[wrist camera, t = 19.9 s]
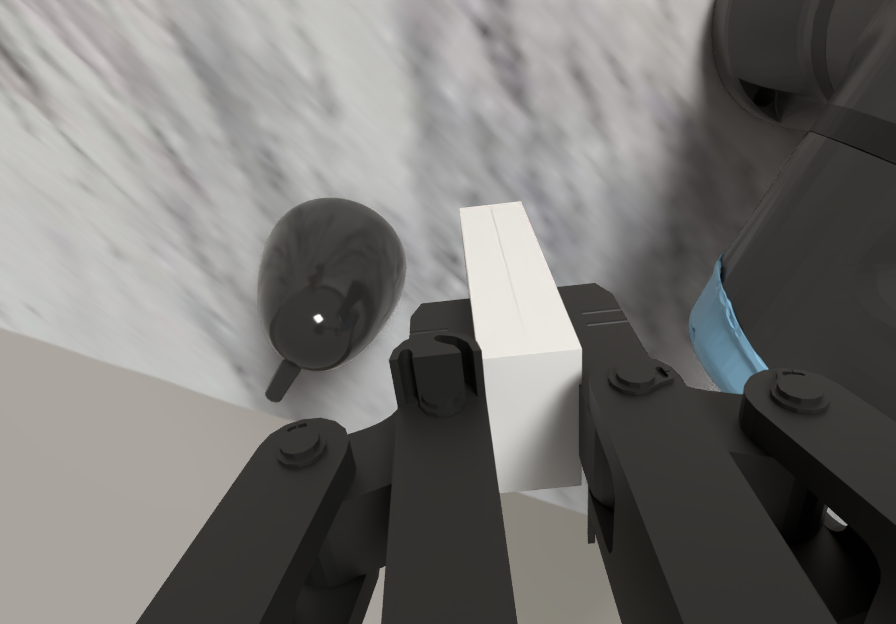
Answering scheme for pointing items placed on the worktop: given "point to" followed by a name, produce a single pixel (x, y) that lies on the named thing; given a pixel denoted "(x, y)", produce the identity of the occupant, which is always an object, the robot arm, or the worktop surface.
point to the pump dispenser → (327, 286)
